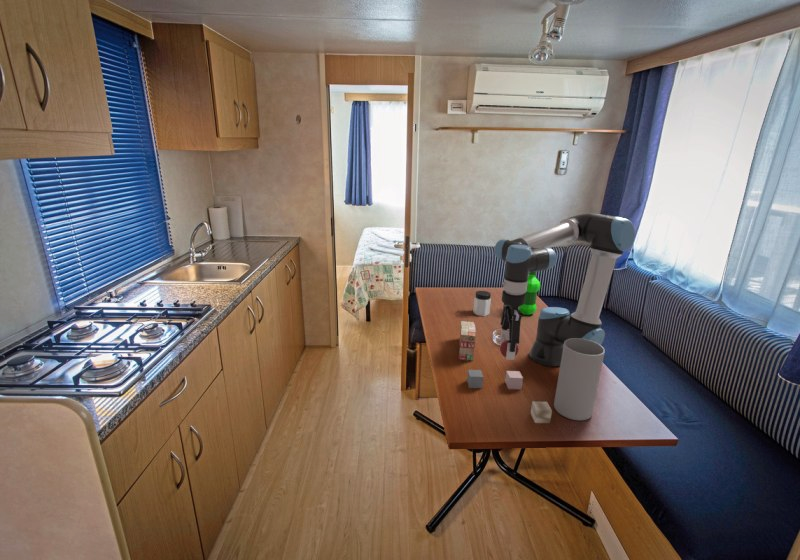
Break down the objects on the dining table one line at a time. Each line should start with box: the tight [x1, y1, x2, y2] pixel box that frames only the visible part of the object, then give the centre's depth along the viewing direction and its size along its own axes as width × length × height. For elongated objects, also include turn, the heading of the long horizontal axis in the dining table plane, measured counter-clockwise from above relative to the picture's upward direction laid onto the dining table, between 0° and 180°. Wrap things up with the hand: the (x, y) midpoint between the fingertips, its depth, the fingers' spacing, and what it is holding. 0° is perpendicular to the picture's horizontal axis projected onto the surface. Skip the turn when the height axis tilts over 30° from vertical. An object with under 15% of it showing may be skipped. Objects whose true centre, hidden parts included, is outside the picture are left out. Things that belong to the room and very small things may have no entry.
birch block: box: [530, 400, 553, 424], centre depth 138 cm, size 5×5×5 cm
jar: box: [472, 290, 492, 317], centre depth 226 cm, size 9×8×12 cm
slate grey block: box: [466, 369, 484, 389], centre depth 157 cm, size 5×5×5 cm
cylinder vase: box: [553, 338, 606, 421], centre depth 140 cm, size 12×12×25 cm
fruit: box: [499, 335, 519, 358], centre depth 142 cm, size 6×6×8 cm
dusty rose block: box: [504, 370, 524, 390], centre depth 157 cm, size 5×5×5 cm
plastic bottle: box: [518, 272, 541, 316], centre depth 226 cm, size 10×10×25 cm
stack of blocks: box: [458, 320, 477, 362], centre depth 184 cm, size 21×6×12 cm, turn 171°
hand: (506, 352), depth 143 cm, fingers closed on fruit, 8 cm apart
